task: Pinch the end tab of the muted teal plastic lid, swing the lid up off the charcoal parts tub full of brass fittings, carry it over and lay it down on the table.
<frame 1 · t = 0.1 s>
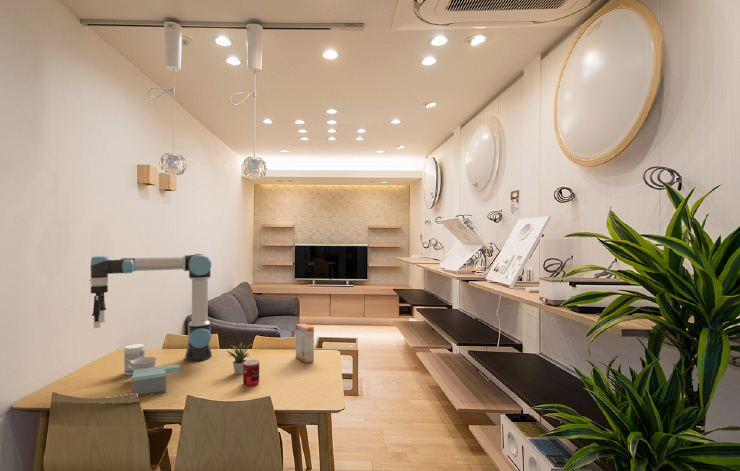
hand: (99, 325, 207), 28 cm above the table, tool pointing down, fingers open, 13 cm apart
teacup: (141, 379, 205), on the table
tub: (149, 391, 189), on the table
house plant: (241, 372, 216), on the table
supplement tub: (134, 373, 214), on the table
canned food: (251, 383, 199), on the table
cracker box: (304, 359, 237), on the table
lid: (149, 374, 189), point 8 cm above the table, touching tub
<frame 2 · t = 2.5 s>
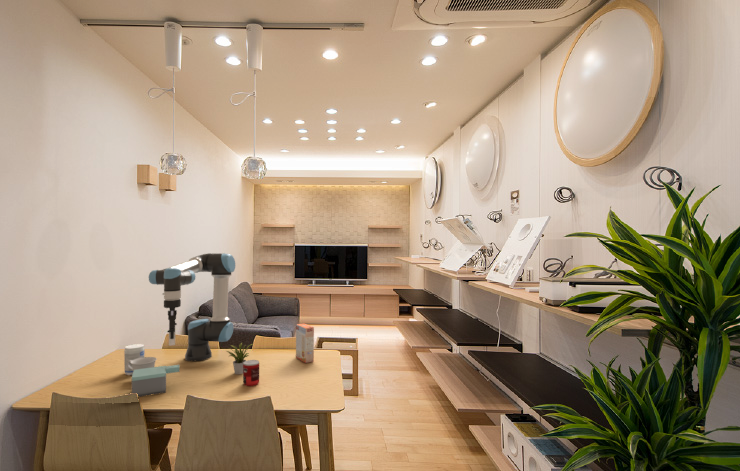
hand: (172, 341, 193), 23 cm above the table, tool pointing down, fingers open, 13 cm apart
nothing on the table moved.
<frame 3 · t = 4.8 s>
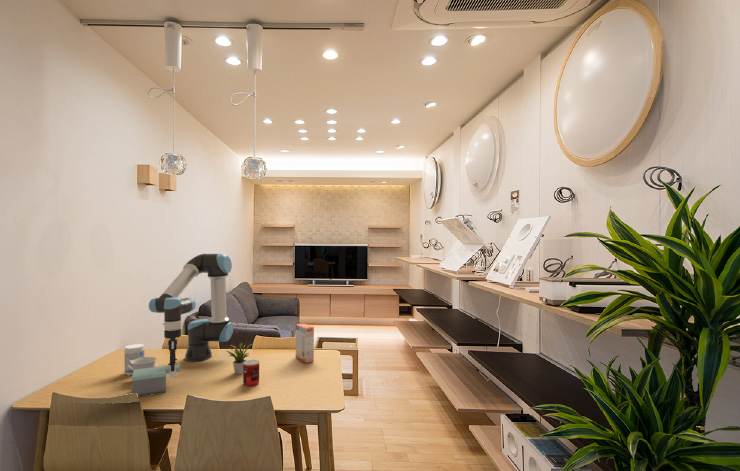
hand: (172, 375, 193), 6 cm above the table, tool pointing down, fingers closed on lid, 4 cm apart
lid: (149, 374, 189), point 8 cm above the table, touching gripper, tub
everything else where it was.
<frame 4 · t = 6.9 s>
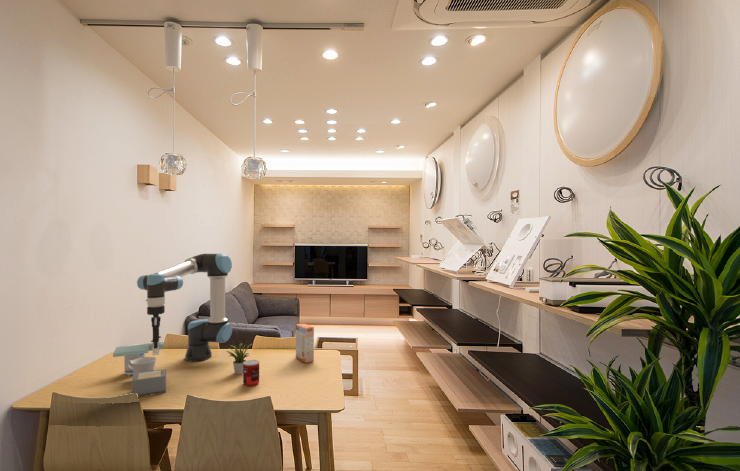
hand: (155, 353, 190), 18 cm above the table, tool pointing down, fingers closed on lid, 4 cm apart
lid: (132, 351, 186), point 20 cm above the table, touching gripper
everything else where it was.
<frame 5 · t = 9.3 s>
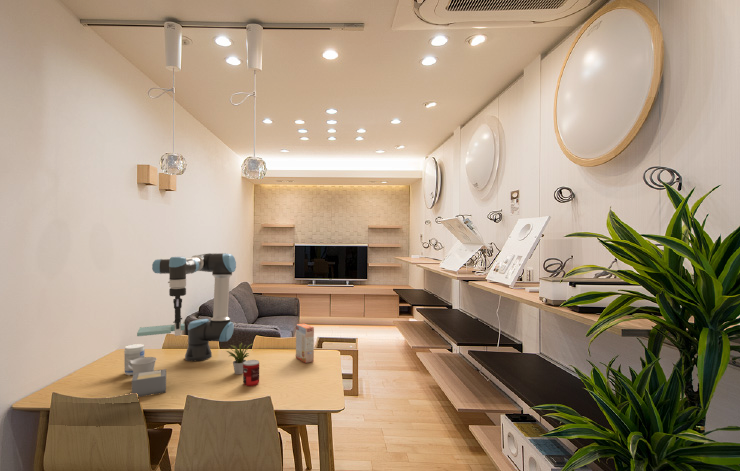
hand: (177, 334, 195), 26 cm above the table, tool pointing down, fingers closed on lid, 4 cm apart
lid: (155, 331, 190), point 28 cm above the table, touching gripper
everything else where it was.
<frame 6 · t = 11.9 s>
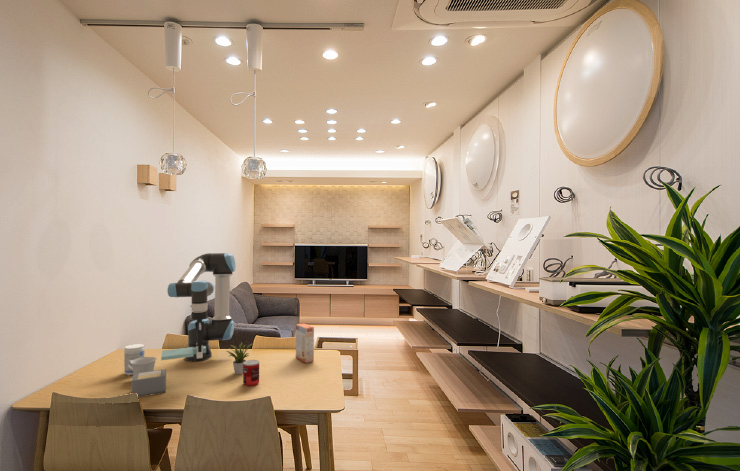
hand: (199, 356, 199), 14 cm above the table, tool pointing down, fingers closed on lid, 4 cm apart
lid: (177, 355, 194), point 16 cm above the table, touching gripper
everything else where it was.
when the fingers open (4 cm above the table, at t = 13.9 s): lid drops 6 cm, on the table.
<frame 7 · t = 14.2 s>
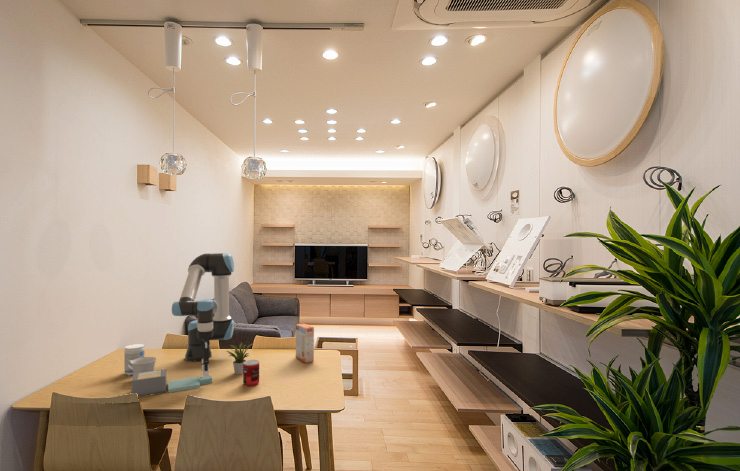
hand: (205, 373, 200), 4 cm above the table, tool pointing down, fingers open, 9 cm apart
lid: (184, 386, 196), on the table
everything else where it was.
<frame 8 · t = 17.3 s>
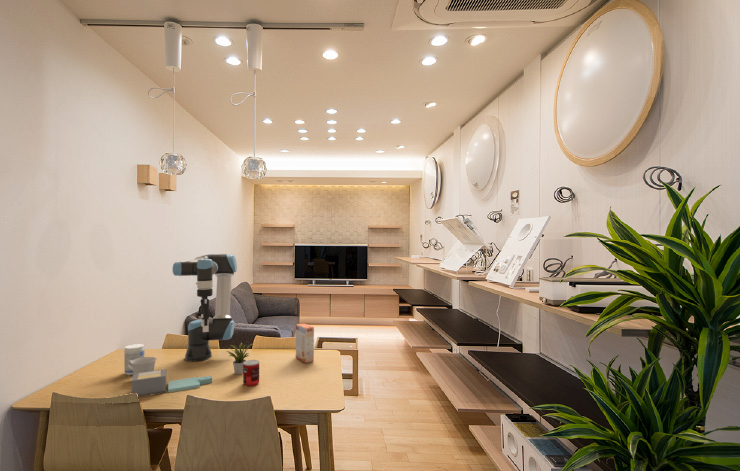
hand: (204, 329, 204), 27 cm above the table, tool pointing down, fingers open, 13 cm apart
nothing on the table moved.
at the end: lid inside the target area (3.8 cm from its centre), on the table; lid touching table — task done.
